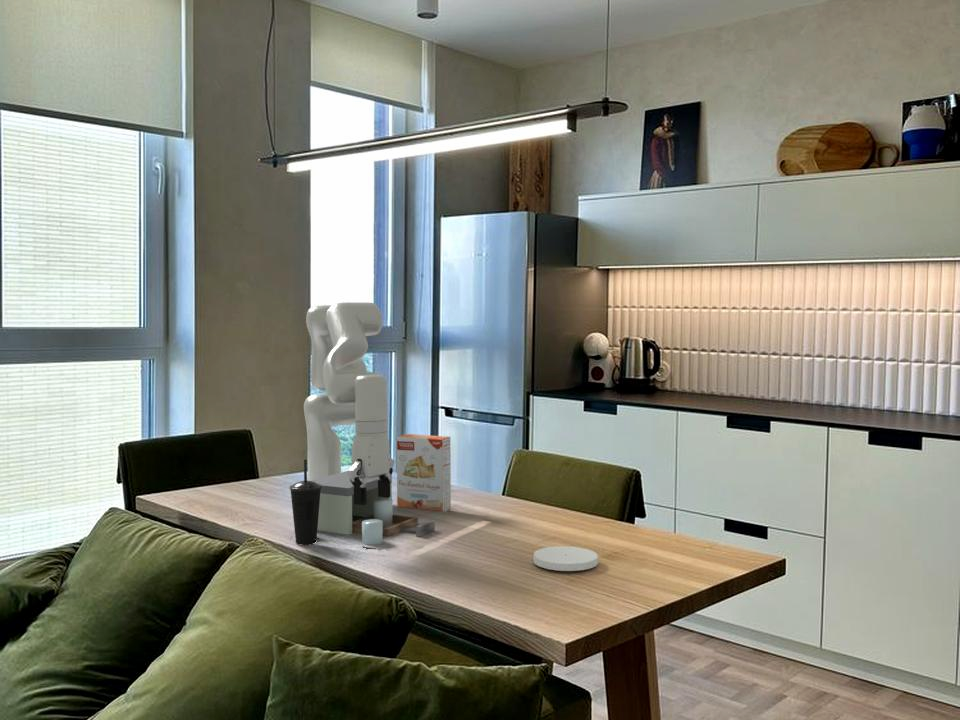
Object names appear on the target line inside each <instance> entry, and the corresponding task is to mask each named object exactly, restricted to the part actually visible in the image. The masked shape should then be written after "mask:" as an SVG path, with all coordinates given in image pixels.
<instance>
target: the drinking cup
mask: <svg viewBox="0 0 960 720" xmlns="http://www.w3.org/2000/svg"><path fill="white" fill-rule="evenodd" d="M321 488H322V485H321V484H318V483H316V482H313V481H308V459H303V480H300V481H297V482H295V483H293V484H291V485H290V486H289V488H288V489H289V490H290V498H291V507H292V508H291V509H292V517H293V527H294V538H295V544H296V543H297V544H296V545H298V544H302V545H301V546H309V544H311V545H314V544H313V543H315V542H316V543H317V538H318V530H317V529H318V516H319V504H320V491H321ZM316 543H315V544H316Z"/></svg>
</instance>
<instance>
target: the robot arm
mask: <svg viewBox="0 0 960 720" xmlns="http://www.w3.org/2000/svg"><path fill="white" fill-rule="evenodd" d="M305 317H306V318H305V321H306V328H307V331H308V333H309V337H310V340H311V357H310V358H311V359H310V360H311V361H310V362H311V363H310V382H311V385H312V388H313V389H315V390H317V391H321V392H320V393H314V394H310V395H309V396H308V397H306V398H305V400H304V403H303V414H304V419H305V426H306V441H307V481H312V480H316V479H320V478H323V477H327V476H331V475H335V474H338V473H342V441H341V439H340V437H339V435H338V434H337V433H336V432H335V430H333V428H332V427H337V426H339V427H340V426H352V425H353V426H354V427H355V429H354V430H355V434H354V435H353V439H352V447H351V459H350V460H351V462H350V468H348V470H347V471H348V474H349V477H350V481H351V483H352V487H354V504H357V505H366V504H367V488H366V487H365V484H366V482H367V480H368V478H373V477H376V476H378V477H379V479H380V480H378V496H379V497H385V498H389V497H390V481H389V480H391V479H392V478H393V477H391V475H392V474H393V472H394V465H395V460H394V458H392V457H391V449H390V441H389V432H388V431H389V427H388V425H389V423H388V421H389V420H388V411H389V410H388V381H387V380H388V379H387V378H386V376H384V375H382V374H380V373H379V372H374V371H373V372H368V368H367V365H366V362H365V361H364V360H363V359H362V358H364V356H365V355H366V354H367V352H368V348H369V344H368V340H367V337H369V336H376V335H378V334H379V333H381V331H382V329H383V325H384V318H383V313H382V311H381V309H380V307H379V306H378V305H377V304H376V303H374V302H338V303H335V304H333V305H325V304H323V305H315V306H312V307H310V308H309V309H308V310H307V311H306V316H305ZM360 479H362V481H360Z"/></svg>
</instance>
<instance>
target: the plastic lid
mask: <svg viewBox="0 0 960 720" xmlns="http://www.w3.org/2000/svg"><path fill="white" fill-rule="evenodd" d="M532 556H533V557H532V558H533V563H534V564H535V565H536V566H538V567H540V568H542V569H543V568H544V569H546V570H553V571H559V572H575V571H577V572H579V571H584V570H590V569H592V568H593V569H594V567H597V566H598V564H599V554H598V553H597V552H596V551H593V550H590V549H587V548H584V547H583V548H582V547H578V546H576V547H575V546H567V545H566V546H551V547H543V548H540V549H537V550H535V551H533V555H532Z"/></svg>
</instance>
